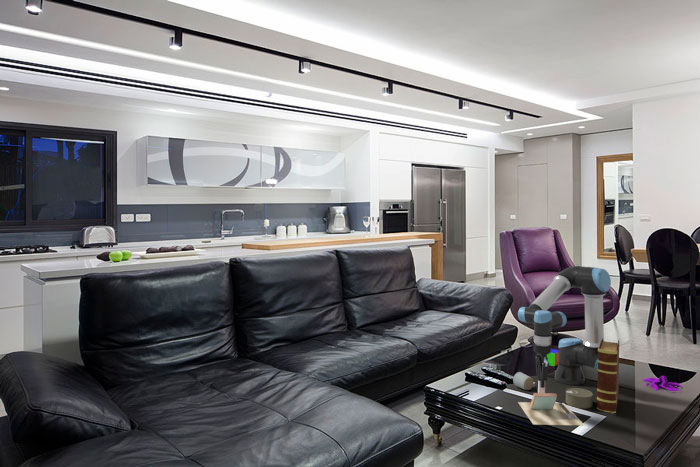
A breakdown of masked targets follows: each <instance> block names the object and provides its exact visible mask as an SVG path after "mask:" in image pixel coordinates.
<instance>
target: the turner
mask: <svg viewBox="0 0 700 467" xmlns="http://www.w3.org/2000/svg"><path fill="white" fill-rule="evenodd" d="M558 403H559V405H560V406H561V407H562V409H563V410H564V411H565V412H566V413H564V414H565V415H566V416H567V417H568V418H569V419H577V417H578V416H577V417H576V416H575V415H576V414H575V413H574V412H573V413H574V414H575V415H574V414H573V413H570V412H569V411H568V410H567V408H566V407H565V406H564V405H563V404H562V403H563V402H558Z"/></svg>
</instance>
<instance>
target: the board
mask: <svg viewBox="0 0 700 467" xmlns="http://www.w3.org/2000/svg"><path fill="white" fill-rule="evenodd" d="M517 403H518V404H519V407H520V408H521V410H523V412H524V413H525V415H526V416H527V418H528V419H529V420H530V422H531V423H532V425H537V426H538V425H540V426H543V425H544V426H545V425H546V426H547V425H548V426H580V427H581V426H585V424H584V423H583V422H582V420H580V418H579V417H578V416H576V414H575V413H574V412H573V411H572V410H571V409H570V408H569V407H568V405H566V404H565V403H564V402H561V403H562V404H563V405H564V406H565V407H566V408H567V410H568V411H569V412H570V413H573V414H574V415H575V416H576V417H577V419H569V418H568V417H567V416H566V415H565V414H564V413H566V412H565V411H564V410H563V409H562V407H561V406H560V405H559V403H560V402H555V404H554V407H553V409H552V410H549V409H531V407H530V405H531V401H529V402H525V401H523V402H522V401H518V402H517Z"/></svg>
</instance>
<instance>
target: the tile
mask: <svg viewBox="0 0 700 467" xmlns="http://www.w3.org/2000/svg"><path fill="white" fill-rule="evenodd" d="M557 398H558V394H557V392H555V393H554V392H553V393H552V392H550V393H549V392H548V393H547V392H545V393H538V392H533V394H532V399H531V401H530V402H531V405H530V407H531V409H549V410H552V409H553V407H554V404H555V403H556V401H557Z"/></svg>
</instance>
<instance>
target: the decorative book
mask: <svg viewBox="0 0 700 467" xmlns="http://www.w3.org/2000/svg"><path fill="white" fill-rule="evenodd" d="M596 370H597V388H596V392H597V394H596V396H597V397H596V402H597V403H596V405H597V406H596V409H597V410H599V411H603V412H604V413H605V412H606V413H611V414H612V413H616V414H617V408H618V407H617V406H618V400H619V380H620V378H619V375H620V373H619V371H620V340H619V339H618V341H617V342H614V341H613V342H611V341H605V340H604V341H603V339H602V340H601V343H600V346H599V348H598V369H596Z"/></svg>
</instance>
